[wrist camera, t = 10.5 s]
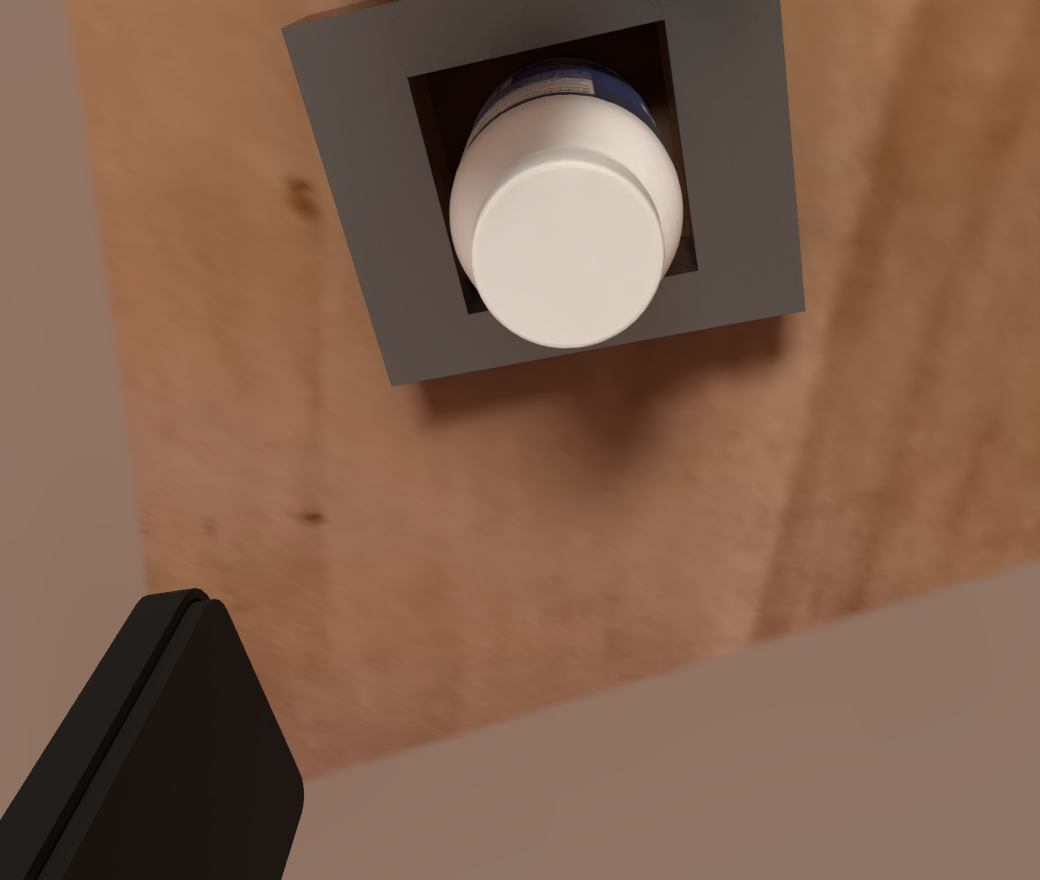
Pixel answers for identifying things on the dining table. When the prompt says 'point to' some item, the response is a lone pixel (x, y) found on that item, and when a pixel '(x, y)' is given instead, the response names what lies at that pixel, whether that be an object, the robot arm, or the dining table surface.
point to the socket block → (427, 184)
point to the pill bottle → (566, 204)
